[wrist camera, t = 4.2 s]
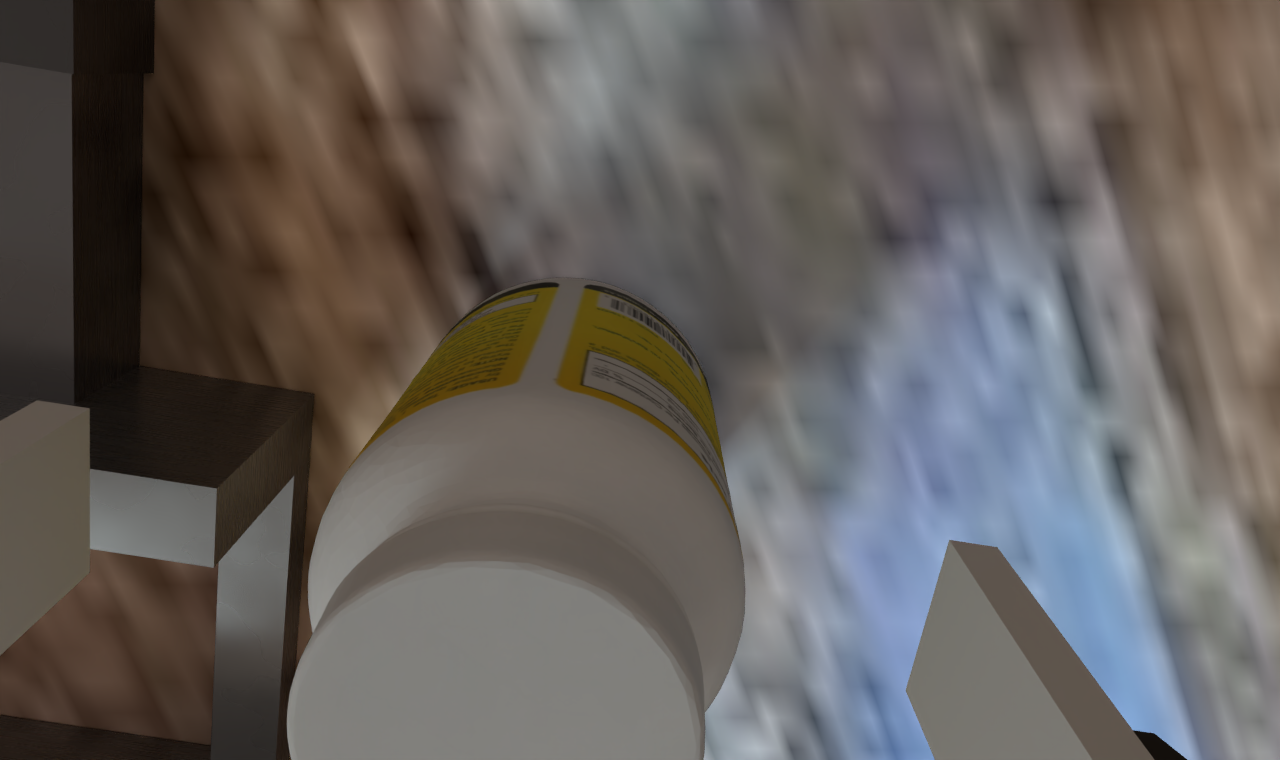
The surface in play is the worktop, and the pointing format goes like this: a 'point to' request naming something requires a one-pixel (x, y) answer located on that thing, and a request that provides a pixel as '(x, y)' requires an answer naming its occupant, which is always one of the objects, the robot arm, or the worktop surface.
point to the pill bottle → (529, 548)
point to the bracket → (138, 377)
